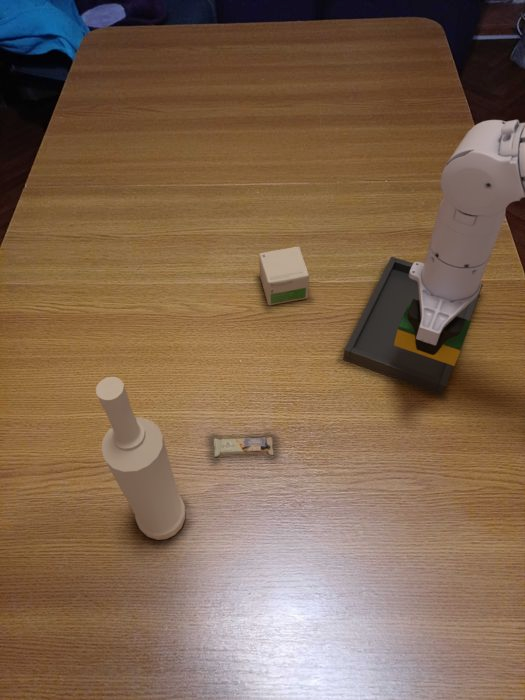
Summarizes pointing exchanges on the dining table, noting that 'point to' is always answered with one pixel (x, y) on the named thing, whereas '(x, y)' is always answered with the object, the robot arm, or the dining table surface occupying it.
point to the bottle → (140, 464)
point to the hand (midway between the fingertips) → (431, 335)
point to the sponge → (444, 354)
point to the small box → (284, 275)
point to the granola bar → (243, 446)
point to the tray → (381, 328)
